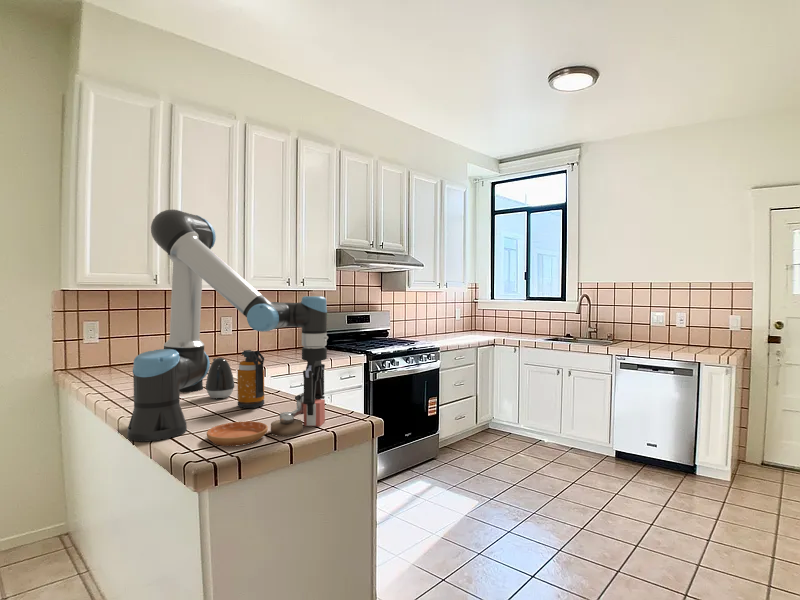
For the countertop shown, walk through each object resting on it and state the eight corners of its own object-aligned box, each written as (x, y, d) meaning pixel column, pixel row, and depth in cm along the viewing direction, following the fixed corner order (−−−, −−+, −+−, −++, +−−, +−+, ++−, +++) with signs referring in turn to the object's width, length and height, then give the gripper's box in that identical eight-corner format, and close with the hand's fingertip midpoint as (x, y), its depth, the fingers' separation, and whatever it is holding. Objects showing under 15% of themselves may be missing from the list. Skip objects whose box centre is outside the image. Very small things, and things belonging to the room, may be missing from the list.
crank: (289, 424, 135) (289, 402, 134) (277, 423, 136) (276, 401, 136) (309, 413, 146) (309, 393, 146) (297, 412, 147) (297, 392, 147)
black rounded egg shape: (227, 393, 188) (226, 355, 188) (239, 397, 181) (238, 357, 180) (201, 397, 181) (200, 357, 181) (212, 401, 174) (212, 360, 173)
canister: (254, 402, 173) (254, 347, 173) (273, 406, 166) (272, 350, 166) (232, 406, 166) (232, 350, 166) (250, 411, 159) (250, 352, 159)
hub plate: (265, 435, 133) (265, 426, 133) (278, 426, 142) (278, 417, 142) (296, 437, 132) (296, 427, 132) (307, 427, 141) (307, 418, 141)
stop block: (303, 425, 143) (303, 402, 142) (309, 421, 148) (309, 398, 147) (319, 426, 142) (319, 403, 142) (324, 421, 147) (324, 399, 147)
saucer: (197, 438, 131) (197, 428, 131) (252, 427, 142) (252, 417, 142) (220, 453, 120) (220, 441, 119) (278, 440, 130) (278, 429, 130)
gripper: (316, 350, 135) (316, 432, 135) (334, 343, 152) (334, 415, 153) (291, 350, 136) (291, 430, 136) (312, 343, 154) (312, 414, 154)
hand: (314, 422), depth 145 cm, fingers closed on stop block, 5 cm apart
